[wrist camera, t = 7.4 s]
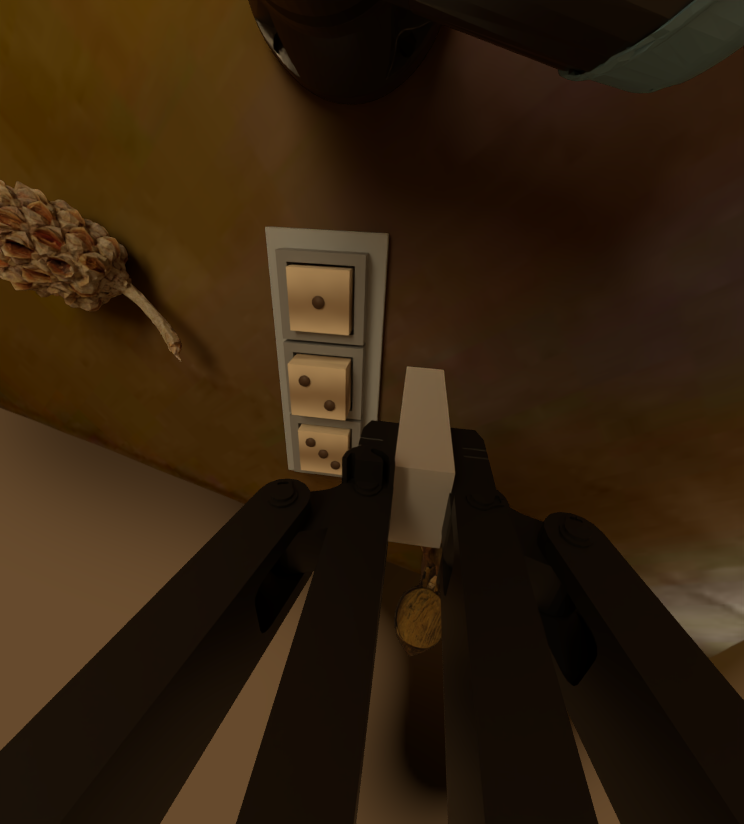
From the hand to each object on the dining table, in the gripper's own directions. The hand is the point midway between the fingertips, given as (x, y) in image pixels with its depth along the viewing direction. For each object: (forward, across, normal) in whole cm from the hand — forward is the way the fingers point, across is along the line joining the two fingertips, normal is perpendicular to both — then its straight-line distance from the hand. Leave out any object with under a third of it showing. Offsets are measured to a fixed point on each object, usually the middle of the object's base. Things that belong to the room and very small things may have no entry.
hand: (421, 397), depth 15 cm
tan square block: (+23, -10, -1) cm, 25 cm away
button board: (+24, -10, -10) cm, 28 cm away
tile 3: (+23, -10, -19) cm, 31 cm away
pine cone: (+25, -33, 0) cm, 41 cm away
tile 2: (+21, -10, -10) cm, 26 cm away
